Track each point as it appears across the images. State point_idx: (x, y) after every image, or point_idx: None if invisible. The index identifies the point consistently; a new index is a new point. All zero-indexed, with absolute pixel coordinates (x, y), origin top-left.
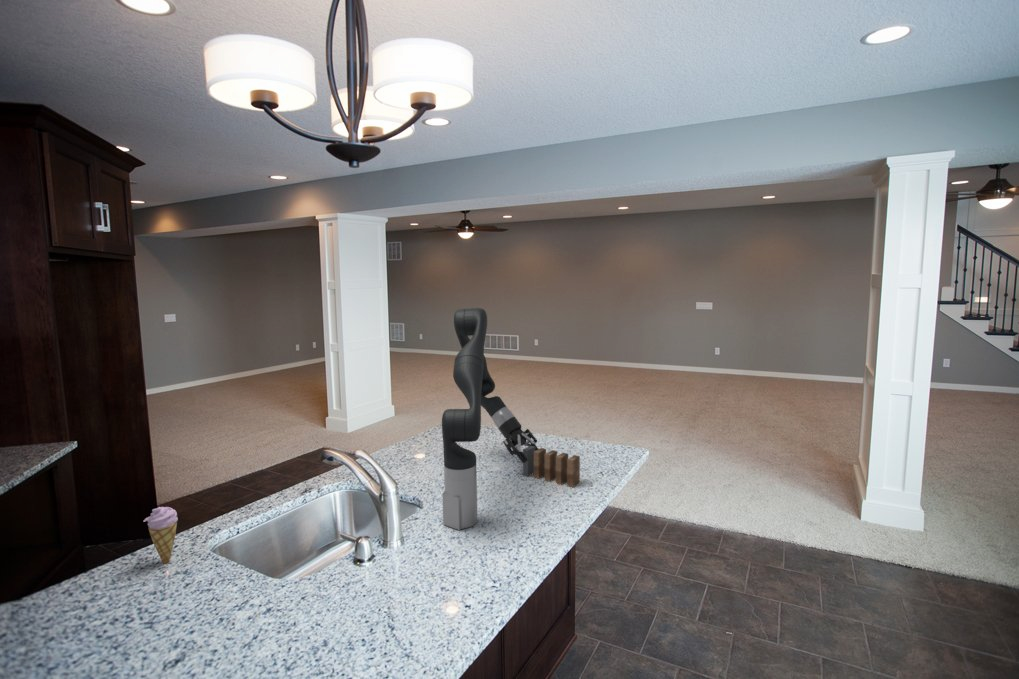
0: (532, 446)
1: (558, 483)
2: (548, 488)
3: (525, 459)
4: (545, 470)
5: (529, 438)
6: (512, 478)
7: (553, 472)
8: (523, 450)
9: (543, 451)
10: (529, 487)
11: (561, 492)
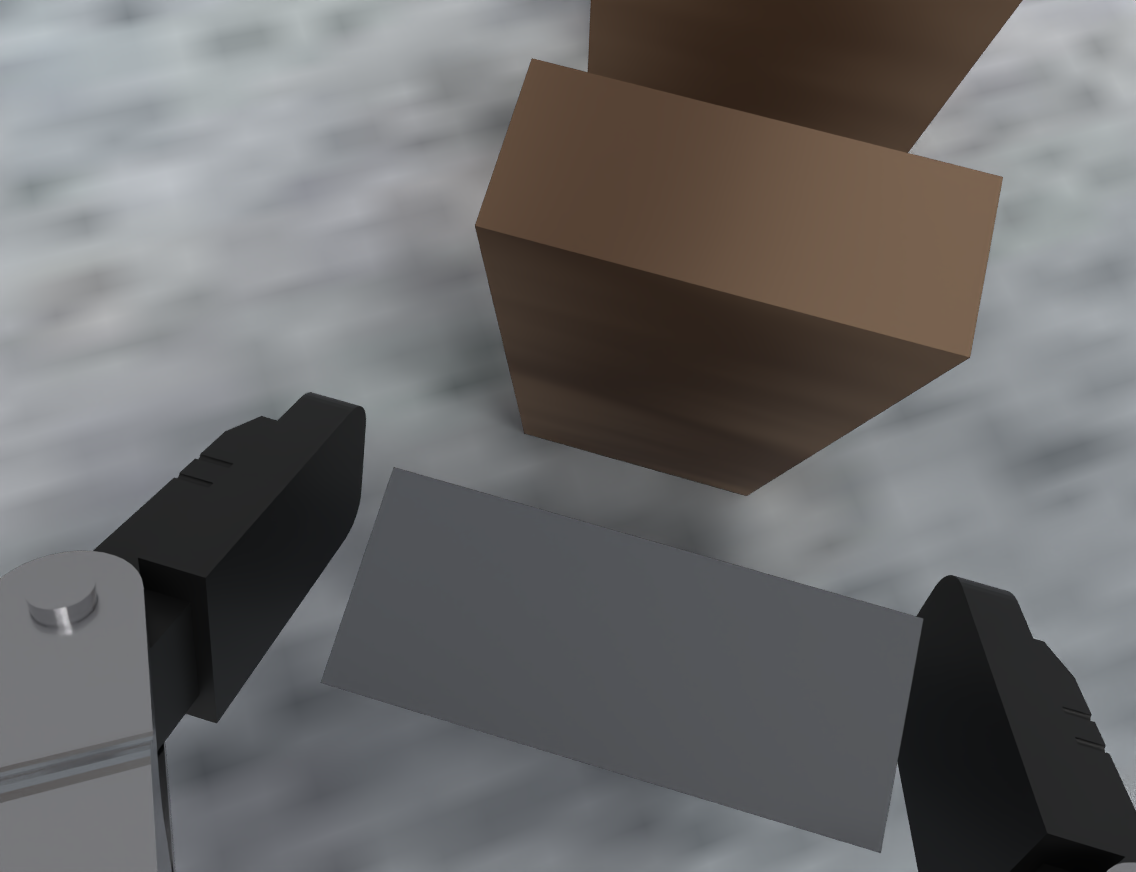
0: (413, 579)
1: None
2: (1038, 184)
3: (1011, 622)
4: None
5: (6, 870)
6: (912, 846)
7: None
8: (873, 814)
9: (681, 126)
10: (1131, 444)
11: (1082, 6)
